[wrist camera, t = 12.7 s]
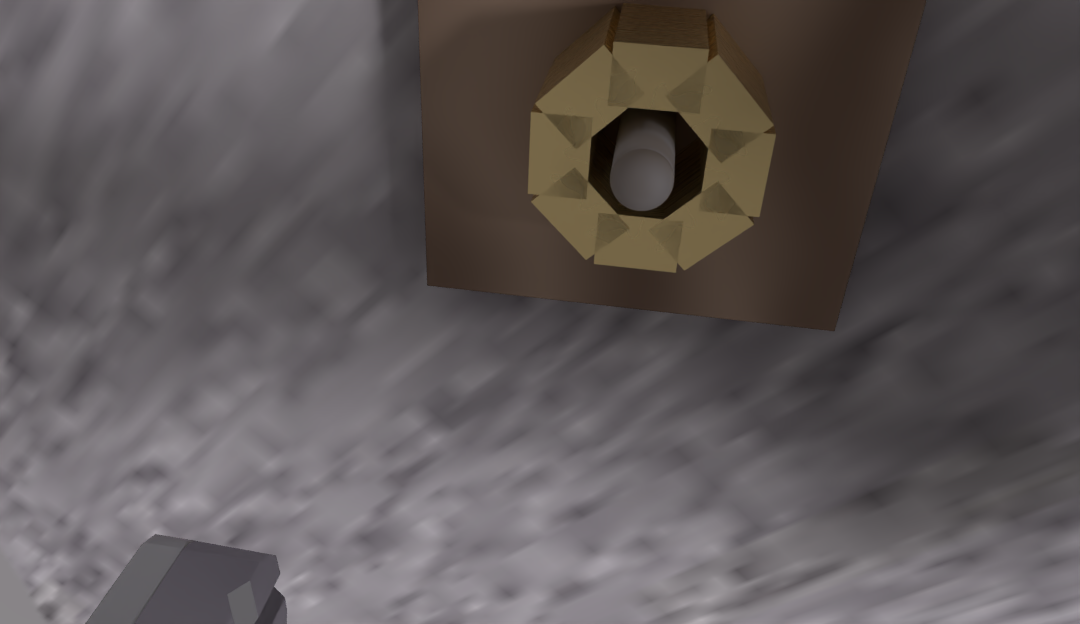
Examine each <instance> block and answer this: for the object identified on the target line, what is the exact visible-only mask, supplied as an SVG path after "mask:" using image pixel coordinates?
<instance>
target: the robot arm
mask: <svg viewBox="0 0 1080 624" xmlns="http://www.w3.org/2000/svg"><path fill="white" fill-rule="evenodd" d="M279 575H280V570H279V566H278V561H277V557H276V555H271V554H266V553H260V552H255V551H249V550H244V549H238V548H232V547H227V546H221V545H216V544H210V543H205V542H199V541H194V540H188V539H182V538H176V537H170V536H163V535H157V534H155V535H154V536H152V537H151V538H150V539H148V540H147V541H146V542H144V543H143V544H142V545H141V546H140V548H139V549H138V550H137V552H136V553H135V555H134V556H133V557H132V559H131V560H130V562H129V563H128V564H127V566H126V567H125V569H124V570H123V571H122V573H121V574H120V576H119V577H118V578H117V580H116V581H115V583H114V584H113V586H112V587H111V588H110V590H109V591H108V593H107V594H106V595H105V597H104V598H103V600H102V601H101V602H100V604H99V605H98V607H97V608H96V609H95V611H94V612H93V614H92V615H91V616H90V618H89V619H88V621H87V622H86V623H85V624H287V607H286V601H285V597H284V596H283V595H282V594H281V593H280V592H279V591H278V590H277V589H276V588H275V587H274V585H275V583H276V581H277V579H278V577H279Z"/></svg>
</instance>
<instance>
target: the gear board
mask: <svg viewBox="0 0 1080 624" xmlns="http://www.w3.org/2000/svg"><path fill="white" fill-rule="evenodd" d="M623 3H631V4H643V5H656V6H669V7H682V8H694V9H706V17H707V19H708V18H709V17H710V16H711V15H713V14H714V15H715V16H716V17H717V19H718V20H719V21H720V22H721V24H722V25H723V26H724V28H725V29H726V30H727V31H728V33H729V34H730V35H731V37H732V38H733V39H734V41H735V42H736V43H737V44H738V46H739V47H740V48H741V50H742V51H743V52H744V53H745V55H746V56H747V57H748V59H749V60H750V61H751V63H752V64H753V65H754V66H755V68H756V69H757V70H758V72H759V73H760V74H761V75H762V78H763V82H764V86H765V90H766V94H767V99H768V103H769V107H770V111H771V115H772V119H773V123H774V128H775V132H776V138H775V143H774V147H773V152H772V157H771V162H770V167H769V172H768V177H767V182H766V187H765V192H764V197H763V202H762V207H761V212H760V216H759V217H753V220H754V225H753V226H751V227H750V228H748V229H747V230H745V231H744V232H742V233H741V234H739V235H738V236H736V237H735V238H733V239H732V240H730V241H729V242H727V243H725V244H724V245H722V246H721V247H719V248H718V249H716V250H715V251H713V252H712V253H710V254H709V255H707V256H706V257H704V258H703V259H701V260H700V261H698V262H697V263H695V264H694V265H692V266H691V267H689V268H688V269H686V270H685V271H684V270H683V269H682V267H681V266H680V265H679V264H678V263H677V268H676V273H673V272H664V271H655V270H646V269H636V268H627V267H618V266H609V265H599V264H594V255H595V254H594V255H592V256H591V257H590V258H588V259H587V260H585V259H584V258H583V256H582V255H581V254H580V253H579V252H578V251H577V250H576V249H575V248H574V247H573V246H572V245H571V244H570V243H569V242H568V241H567V240H566V238H565V237H564V236H563V235H562V234H561V233H560V232H559V231H558V230H557V229H556V228H555V227H554V226H553V225H552V224H551V223H550V221H549V220H548V219H547V218H546V217H545V216H544V215H543V214H542V213H541V212H540V211H539V210H538V209H537V208H536V207H535V206H534V205H533V203H532V202H531V200H532V197H533V194H528V175H529V149H530V122H531V111H532V108H533V106H534V104H535V102H536V99H537V97H538V95H539V93H540V90H541V88H542V86H543V84H544V81H545V79H546V77H547V74H548V72H549V70H550V68H551V66H552V64H553V62H554V59H555V58H556V57H557V56H558V55H559V54H561V53H562V52H563V51H564V50H565V49H566V48H567V47H569V46H570V45H571V44H572V43H573V42H574V41H575V40H577V39H578V38H579V37H580V36H581V35H582V34H583V33H585V32H586V31H587V30H588V29H589V28H590V27H591V26H593V25H594V24H595V23H596V22H597V21H598V20H599V19H601V18H602V17H603V16H604V15H605V14H606V13H607V12H609V11H610V10H611V9H612V8H613V7H614V6H616V8H617V9H618V10H619V11H620V12H621V10H622V7H623ZM925 4H926V0H418V22H419V51H420V81H421V110H422V140H423V170H424V199H425V229H426V259H427V285H428V286H437V287H446V288H455V289H464V290H472V291H481V292H490V293H499V294H508V295H517V296H526V297H535V298H544V299H552V300H561V301H570V302H579V303H588V304H597V305H606V306H615V307H624V308H633V309H641V310H650V311H659V312H668V313H677V314H686V315H695V316H704V317H713V318H721V319H730V320H739V321H748V322H757V323H766V324H775V325H784V326H793V327H801V328H810V329H819V330H828V331H835V327H836V323H837V320H838V316H839V313H840V309H841V305H842V302H843V298H844V295H845V291H846V287H847V284H848V280H849V277H850V273H851V270H852V266H853V262H854V259H855V255H856V252H857V248H858V244H859V241H860V237H861V234H862V230H863V226H864V223H865V219H866V216H867V212H868V208H869V205H870V201H871V198H872V194H873V191H874V187H875V183H876V180H877V176H878V173H879V169H880V165H881V162H882V158H883V155H884V151H885V147H886V144H887V140H888V137H889V133H890V130H891V126H892V122H893V119H894V115H895V112H896V108H897V104H898V101H899V97H900V94H901V90H902V86H903V83H904V79H905V76H906V72H907V68H908V65H909V61H910V58H911V54H912V51H913V47H914V43H915V40H916V36H917V33H918V29H919V25H920V22H921V18H922V15H923V11H924V7H925ZM601 130H602V131H603V132H604V133H605V134H606V135H607V136H608V138H609V139H610V140H611V141H612V142H613V143H614V144H615V152H614V157H613V163H612V168H611V174H610V185H611V189H612V192H613V194H614V196H615V197H616V199H617V200H618V201H619V202H620V203H621V204H622V205H624V206H625V207H627V208H629V209H632V210H636V211H647V210H651V209H654V208H656V207H658V206H660V205H661V204H662V203H663V202H664V201H665V200H666V199H667V198H668V197H669V195H670V193H671V191H672V189H673V185H674V170H675V155H676V154H678V153H679V152H680V151H682V150H683V149H684V148H686V147H687V146H688V145H690V144H691V143H692V142H694V141H695V140H696V139H698V138H699V136H698V135H697V134H696V133H695V132H694V130H693V129H692V128H691V127H690V126H689V124H688V123H687V122H686V121H685V119H684V118H683V117H682V116H681V115H680V113H679V112H673V111H662V110H651V109H640V108H627V109H626V110H625V111H624V112H622V113H621V114H620V115H619V116H617V117H616V118H615V119H614V120H612V121H611V122H610V123H609V124H607V125H606V126H605V127H604V128H602V129H601Z"/></svg>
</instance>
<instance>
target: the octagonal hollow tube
mask: <svg viewBox="0 0 1080 624" xmlns="http://www.w3.org/2000/svg"><path fill="white" fill-rule="evenodd" d="M627 108H640V109H651V110H662V111H673V112H679V113H680V115H681V116H682V117H683V118H684V119H685V121H686V122H687V123H688V124H689V126H690V127H691V128H692V129H693V130H694V132H695V133H696V134H697V135H698V136H699V138H698V139H696V140H695V141H694V142H692V143H691V144H690V145H688V146H687V147H686V148H684V149H683V150H682V151H680V152H679V153H678V154H676V155H675V170H674V185H673V189H672V191H671V193H670V195H669V197H668V198H667V199H666V200H665V201H664V202H663V203H662V204H661V205H660V206H658V207H656V208H654V209H651V210H647V211H636V210H632V209H629V208H627V207H625V206H624V205H622V204H621V203H620V202H619V201H618V200H617V199H616V197H615V196H614V194H613V192H612V189H611V185H610V174H611V168H612V163H613V157H614V152H615V144H614V143H613V142H612V141H611V140H610V139H609V138H608V136H607V135H606V134H605V133H604V132H603V131H602V130H601V129H602V128H604V127H605V126H606V125H607V124H609V123H610V122H611V121H612V120H614V119H615V118H616V117H617V116H619V115H620V114H621V113H622V112H624V111H625V110H626V109H627ZM775 138H776V132H775V128H774V123H773V119H772V115H771V111H770V107H769V103H768V99H767V94H766V90H765V86H764V82H763V78H762V75H761V74H760V73H759V72H758V70H757V69H756V68H755V66H754V65H753V64H752V63H751V61H750V60H749V59H748V57H747V56H746V55H745V53H744V52H743V51H742V50H741V48H740V47H739V46H738V44H737V43H736V42H735V41H734V39H733V38H732V37H731V35H730V34H729V33H728V31H727V30H726V29H725V28H724V26H723V25H722V24H721V22H720V21H719V20H718V19H717V17H716V16H715V15H714V14H713V15H711V16H710V17H709V18H708V19H707V17H706V9H694V8H682V7H669V6H656V5H643V4H631V3H623V7H622V10H621V12H620V11H619V10H618V9H617V8H616V6H614V7H613V8H612V9H611V10H610V11H609V12H607V13H606V14H605V15H604V16H603V17H602V18H601V19H599V20H598V21H597V22H596V23H595V24H594V25H593V26H591V27H590V28H589V29H588V30H587V31H586V32H585V33H583V34H582V35H581V36H580V37H579V38H578V39H577V40H575V41H574V42H573V43H572V44H571V45H570V46H569V47H567V48H566V49H565V50H564V51H563V52H562V53H561V54H559V55H558V56H557V57H556V58H555V59H554V62H553V64H552V66H551V68H550V70H549V72H548V74H547V77H546V79H545V81H544V84H543V86H542V88H541V90H540V93H539V95H538V97H537V99H536V102H535V104H534V106H533V108H532V111H531V122H530V149H529V175H528V194H533V197H532V200H531V202H532V203H533V205H534V206H535V207H536V208H537V209H538V210H539V211H540V212H541V213H542V214H543V215H544V216H545V217H546V218H547V219H548V220H549V221H550V223H551V224H552V225H553V226H554V227H555V228H556V229H557V230H558V231H559V232H560V233H561V234H562V235H563V236H564V237H565V238H566V240H567V241H568V242H569V243H570V244H571V245H572V246H573V247H574V248H575V249H576V250H577V251H578V252H579V253H580V254H581V255H582V256H583V258H584V259H585V260H587V259H588V258H590V257H591V256H592V255H594V254H595V255H594V264H599V265H609V266H618V267H627V268H636V269H646V270H655V271H664V272H673V273H676V268H677V263H678V264H679V265H680V266H681V267H682V269H683V270H684V271H685V270H686V269H688V268H689V267H691V266H692V265H694V264H695V263H697V262H698V261H700V260H701V259H703V258H704V257H706V256H707V255H709V254H710V253H712V252H713V251H715V250H716V249H718V248H719V247H721V246H722V245H724V244H725V243H727V242H729V241H730V240H732V239H733V238H735V237H736V236H738V235H739V234H741V233H742V232H744V231H745V230H747V229H748V228H750V227H751V226H753V225H754V220H753V217H759V216H760V212H761V207H762V202H763V197H764V192H765V187H766V182H767V177H768V172H769V167H770V162H771V157H772V152H773V147H774V143H775Z"/></svg>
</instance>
